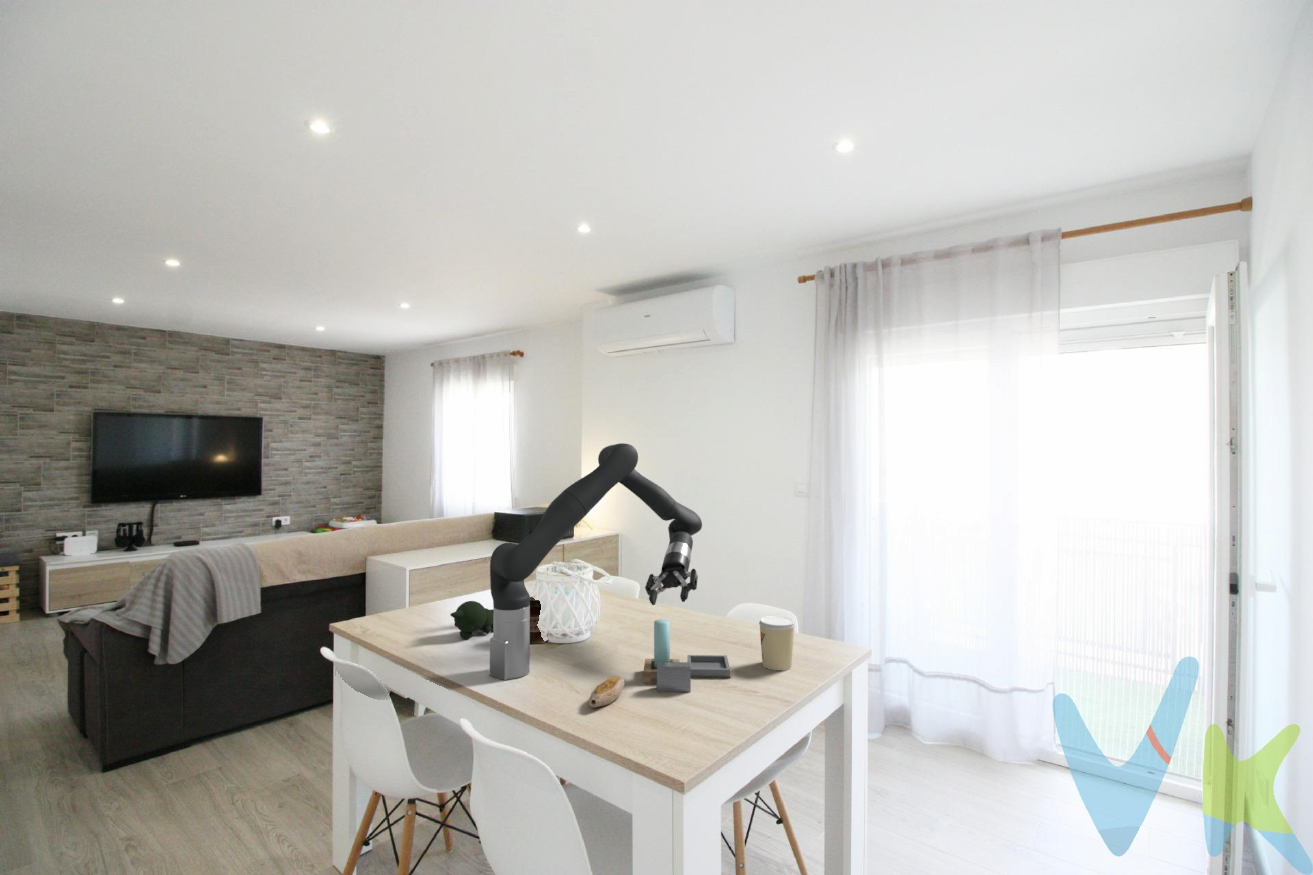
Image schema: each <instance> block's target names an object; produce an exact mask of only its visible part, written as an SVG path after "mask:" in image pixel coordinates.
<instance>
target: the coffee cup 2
mask: <svg viewBox="0 0 1313 875" xmlns="http://www.w3.org/2000/svg"><path fill="white" fill-rule="evenodd" d="M758 624H759V635H760V637H759V638H760V647H761V661H762V662H761V663H762V666H763V668H765V667H766V668H765V669H767V668H768V669H767V670H770V669H773V670H772V671H776V670H783V671H787V669H788V670H790V669H791V668H792V667H793V666H792V665H793V655H794V654H793V653H794V652H793V650H794V639H795V638H794V637H795V636H794V635H795V626H796V624H795V622H794V620H793V619H792V618H789V617H786V616H779V615H772V616H771V615H770V616H763V617H761V618H760V621H759V622H758Z"/></svg>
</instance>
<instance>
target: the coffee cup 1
mask: <svg viewBox="0 0 1313 875" xmlns="http://www.w3.org/2000/svg"><path fill="white" fill-rule="evenodd" d="M533 597H534V596H530V644H543V643H545V642H544V640H543V638H542V637H541V632H540V630H539V628H538V626H537V624H538V621H539V615H540V610H541V604H540V601H539V600H535V599H534V598H533Z"/></svg>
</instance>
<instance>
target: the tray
mask: <svg viewBox="0 0 1313 875" xmlns="http://www.w3.org/2000/svg"><path fill="white" fill-rule="evenodd" d="M728 659H729V658H728V656H727V655H724V654H723V655H722V654H720V655H719V654H716V655H715V654H714V655H713V654H711V655H710V654H709V655H707V654H695V655H694V654H687V659H686V660H687V661H686V662H690V666H691V679H693V678H695V679H697V678H698V679H702V678H703V679H731V666H730V663H729V660H728Z"/></svg>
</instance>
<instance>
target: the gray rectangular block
mask: <svg viewBox="0 0 1313 875" xmlns="http://www.w3.org/2000/svg"><path fill="white" fill-rule="evenodd" d="M691 679H692V678H691V666H690V662H687V661H686V662H684V661H680V662H657V684H656V692H657V693H691V691H692V690H691V688H692V686H691V682H692V681H691Z"/></svg>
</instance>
